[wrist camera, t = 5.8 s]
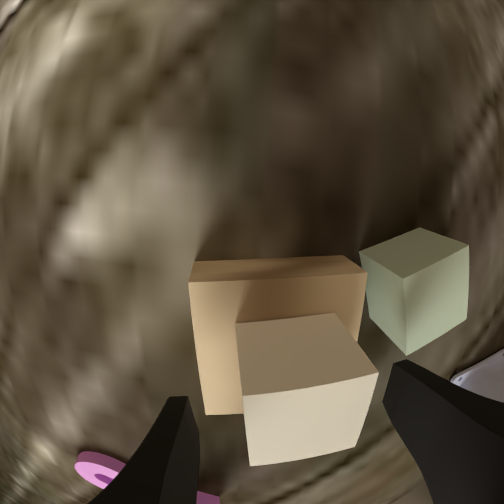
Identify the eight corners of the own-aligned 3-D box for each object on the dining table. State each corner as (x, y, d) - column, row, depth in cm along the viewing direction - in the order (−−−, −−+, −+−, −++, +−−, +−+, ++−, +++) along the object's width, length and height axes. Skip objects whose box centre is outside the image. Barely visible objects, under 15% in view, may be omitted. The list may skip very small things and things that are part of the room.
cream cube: (334, 312, 11) (378, 372, 7) (326, 384, 12) (355, 446, 8) (234, 323, 11) (242, 395, 7) (241, 396, 12) (250, 466, 8)
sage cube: (418, 227, 14) (468, 245, 10) (423, 290, 15) (466, 318, 11) (358, 250, 13) (403, 278, 10) (368, 316, 15) (406, 355, 11)
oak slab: (339, 253, 14) (367, 272, 11) (326, 366, 16) (344, 399, 13) (195, 258, 13) (188, 282, 10) (206, 377, 15) (205, 414, 12)
